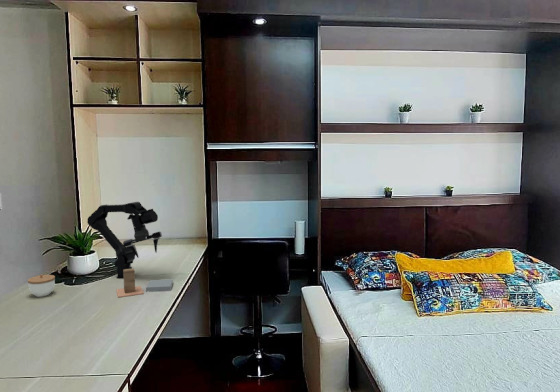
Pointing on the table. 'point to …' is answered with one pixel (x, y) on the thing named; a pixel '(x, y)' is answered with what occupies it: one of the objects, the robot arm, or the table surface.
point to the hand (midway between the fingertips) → (147, 255)
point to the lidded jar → (41, 285)
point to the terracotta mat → (122, 294)
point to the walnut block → (129, 280)
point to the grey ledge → (159, 285)
